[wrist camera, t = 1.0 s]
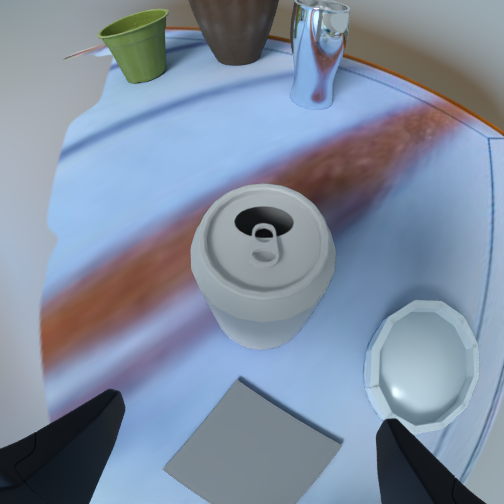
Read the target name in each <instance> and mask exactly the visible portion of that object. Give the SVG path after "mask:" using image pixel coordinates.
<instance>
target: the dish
mask: <svg viewBox="0 0 504 504" xmlns="http://www.w3.org/2000/svg"><path fill="white" fill-rule="evenodd" d="M478 378H479V353H478V343H477V341H476V339H475V337H474V335H473V333H472V331H471V329H470V327H469V325H468V323H467V321H466V319H465V318H464V316H462V315H461V314H460V313H458V312H457V311H456V310H454V309H453V308H451V307H450V306H449V305H447V304H446V303H444V302H443V301H429V300H414V301H412V302H411V303H409V304H408V305H406V306H405V307H403V308H401V309H400V310H398V311H397V312H395V313H394V314H392V315H390V316H389V317H387V318H386V319H384V320H383V321H382V323H381V325H380V327H379V328H378V329H377V330H376V332H375V334H374V335H373V337H372V339H371V341H370V343H369V345H368V348H367V351H366V355H365V360H364V368H363V380H364V387H365V391H366V395H367V398H368V400H369V403H370V405H371V406H372V408H373V410H374V411H375V412H376V414H377V415H378V416H379V418H380V419H381V420H383V421H384V420H385V419H387V418H396V419H398V420H399V421H400V422H401V423H402V424H403V425H404V426H405V427H406V428H407V429H408V430H409V431H410V432H411V433H412V434H419V433H425V432H431V431H436V430H441V429H444V428H445V427H446V426H447V425H448V424H449V423H451V422H452V421H453V420H454V419H455V418H456V417H457V416H458V415H459V414H460V413H461V412H463V411H464V410H465V409H466V407H467V406H468V403H469V401H470V399H471V396H472V394H473V391H474V389H475V386H476V383H477V381H478Z"/></svg>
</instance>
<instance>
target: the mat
mask: <svg viewBox="0 0 504 504" xmlns="http://www.w3.org/2000/svg"><path fill="white" fill-rule="evenodd" d="M341 447H342V445H341V444H339V443H337V442H335V441H334V440H332V439H330V438H328V437H326V436H325V435H323V434H321V433H319V432H318V431H316V430H314V429H313V428H311V427H309V426H307V425H306V424H304V423H302V422H301V421H299V420H298V419H296V418H294V417H293V416H291V415H289V414H288V413H286V412H285V411H283V410H281V409H280V408H278V407H277V406H275V405H274V404H272V403H271V402H269V401H268V400H266V399H265V398H263V397H262V396H260V395H259V394H257V393H256V392H254V391H253V390H251V389H250V388H248V387H247V386H246V385H244V384H243V383H241V382H240V381H238V380H236V382H235V383H234V384H233V385H232V387H231V388H230V389H229V391H228V392H227V393H226V394H225V396H224V397H223V398H222V399H221V401H220V402H219V403H218V404H217V406H216V407H215V408H214V409H213V411H212V412H211V413H210V414H209V416H208V417H207V418H206V419H205V420H204V422H203V423H202V424H201V425H200V426H199V428H198V429H197V430H196V431H195V432H194V434H193V435H192V436H191V437H190V438H189V440H188V441H187V442H186V443H185V444H184V445H183V447H182V448H181V449H180V450H179V451H178V452H177V453H176V455H175V456H174V457H173V458H172V459H171V460H170V461H169V463H168V464H167V465H166V466H165V467H164V468H163V470H164V471H165V472H167V473H168V474H169V475H170V476H172V477H173V478H174V479H176V480H177V481H178V482H180V483H181V484H183V485H184V486H185V487H187V488H188V489H190V490H191V491H193V492H194V493H196V494H197V495H198V496H200V497H202V498H203V499H205V500H206V501H208V502H209V503H211V504H296V503H297V502H298V500H299V499H300V498H301V497H302V496H303V495H304V494H305V492H306V491H307V490H308V489H309V488H310V487H311V485H312V484H313V483H314V482H315V481H316V479H317V478H318V477H319V476H320V474H321V473H322V472H323V471H324V469H325V468H326V467H327V466H328V464H329V463H330V462H331V460H332V459H333V458H334V456H335V455H336V454H337V452H338V451H339V449H340V448H341Z"/></svg>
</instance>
